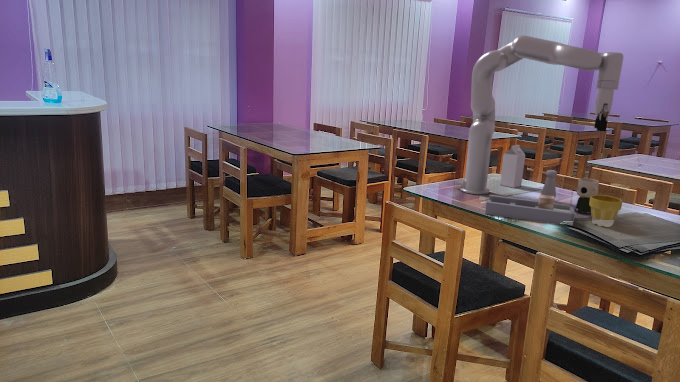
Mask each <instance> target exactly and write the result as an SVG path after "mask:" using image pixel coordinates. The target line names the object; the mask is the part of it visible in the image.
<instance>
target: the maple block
mask: <svg viewBox="0 0 680 382" xmlns="http://www.w3.org/2000/svg"><path fill="white" fill-rule="evenodd" d="M538 196H539V198H538V201H539V203H538V208H542V209H550V210H553V206H554V203H555V199H556V198H555V199H554V196H549V195H541V193H540V194H539V195H538Z"/></svg>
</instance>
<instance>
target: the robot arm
mask: <svg viewBox="0 0 680 382" xmlns="http://www.w3.org/2000/svg"><path fill="white" fill-rule="evenodd" d="M523 59H526V60H529V61H530V60H531V61H535V62H540V63H542V64H543V63H544V64H548V65H559V66H564V67H565V66H566V67H569V68H574V69H578V70H582V71H584V72H595V71H598V76H597V80H596V81H597V82H596V87H595V89H597V90H598V91H597V95H596V101H595V106H594V110H593V113H594V115H596V118H595V122H594V126H593V127H594V129H596V131H597V132H606V131H607V129H608V127H607V126H608V120H609V117H608V116H610V114H611V111H612V105H613V100H614V93H615V91H618V90H619V84H620V78H621V72H622V67H623V63H624V54H623V52H622V53H621V52H613V51H612V52H610V51H609V52H598V51H596V50H593V49H589V48H588V49H587V48H584V47H580V46H575V45H574V46H573V45H569V44H565V43H562V42H557V41H553V40H548V39H543V38H538V37H534V36H530V35H524V34H523V35H519V36H516V37H515V38H514V39H513V41H511V42H510V43H508V44H506V45H504V46H502V47H501V48H499V49H494V50H490V51H488V52H486V53H484V54H483V55H481V56H480V57H479V58H478V59H477V61H476V62H475V64H474V65H473V67H472V68H473V69H472V73H471V88H470V89H471V91H470V94H471V95H470V98H471V99H470V108H471V111H472V123H471V125H470V127H469V130H468V142H467V143H468V144H467V153H466V155H467V156H466V165H465V173H464V175H465V176H464V179H461V180H459V179H454V182H453V184H454V185H456V186H460V187H459V191H461V192H464V193H465V194H471V195H488V194H490V191H491V190H490V189H489V188H487V184H488V176H489V169H490V168H489V167H490V166H489V165H490V160H491V151H492V150H491V149H492V142H493V141H492V140H493V135H494V133H495V129H496V100H495V98H494V96H493V77H494V74H495V72H500V71H503V70H505V69H506V68H509V67H510V66H512V65H514V64H516V63H517V62H519V61H521V60H523Z"/></svg>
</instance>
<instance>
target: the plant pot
mask: <svg viewBox="0 0 680 382" xmlns="http://www.w3.org/2000/svg"><path fill="white" fill-rule="evenodd" d="M589 205H590V206H591V215H590V216H591V219H592V218H596V219H602V220H616V218H617V215H618V213H619V211H621V210H622V206H623V200H622V199H621V198H619V197H616V196H612V195H611V196H610V195H606V194H605V195H604V194H598V195H592V196H590V201H589Z"/></svg>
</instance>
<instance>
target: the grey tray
mask: <svg viewBox="0 0 680 382" xmlns="http://www.w3.org/2000/svg"><path fill="white" fill-rule="evenodd" d="M538 203H539V200H534V199H526V198H519V197H513V196H504V195H503V196H502V195H497V194H489V196H488V201H486V205H485V212H484V214H485V215H490V216H495V217H496V216H497V217H503V218H505V217H506V218H510V219H511V218H512V219H518V220H526V221H531V222H537V223H538V222H539V223H545V224H546V223H547V224H552V225H559V224H560V223H561V222H563V221H574V222H575V208H574V206H573V205H572V204H566V203H556V202H554V206H553V210H550V209H542V208H538Z"/></svg>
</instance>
